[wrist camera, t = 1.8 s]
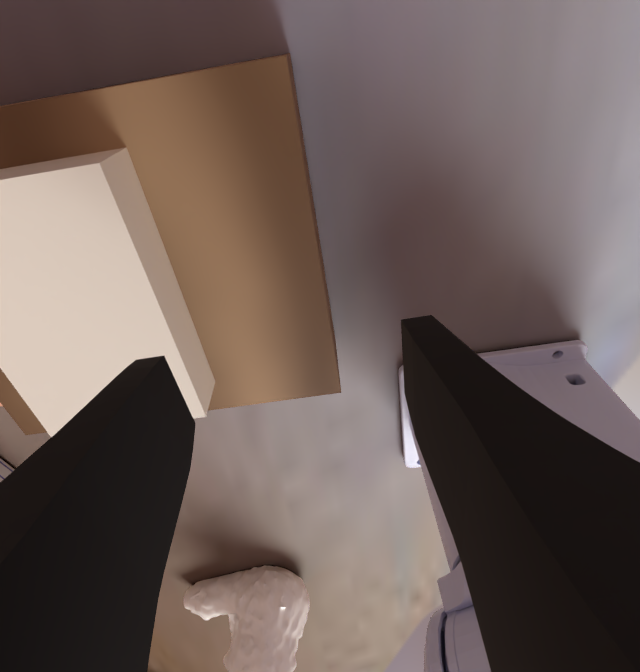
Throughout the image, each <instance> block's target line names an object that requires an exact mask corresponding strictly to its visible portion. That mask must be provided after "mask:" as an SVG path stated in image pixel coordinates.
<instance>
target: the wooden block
mask: <svg viewBox="0 0 640 672" xmlns="http://www.w3.org/2000/svg"><path fill="white" fill-rule="evenodd" d="M126 147H127V150H128V153H129V155H130V158H131V161H132V163H133V166H134V168H135V171H136V174H137V176H138V179H139V182H140V184H141V187H142V190H143V192H144V195H145V197H146V200H147V203H148V205H149V208H150V211H151V213H152V216H153V219H154V221H155V224H156V227H157V229H158V232H159V234H160V237H161V240H162V242H163V245H164V248H165V250H166V253H167V256H168V258H169V261H170V263H171V266H172V269H173V271H174V274H175V277H176V279H177V282H178V285H179V287H180V290H181V292H182V295H183V298H184V300H185V303H186V306H187V308H188V311H189V314H190V316H191V319H192V321H193V324H194V327H195V329H196V332H197V335H198V337H199V340H200V343H201V345H202V348H203V350H204V353H205V356H206V358H207V361H208V364H209V366H210V369H211V372H212V374H213V377H214V379H215V385H214V389H213V392H212V396H211V400H210V404H209V408H208V410H215V409H222V408H230V407H237V406H244V405H252V404H259V403H267V402H274V401H281V400H289V399H296V398H304V397H311V396H318V395H326V394H333V393H341V387H340V378H339V369H338V360H337V350H336V341H335V334H334V328H333V322H332V315H331V309H330V303H329V296H328V290H327V284H326V278H325V271H324V265H323V259H322V252H321V246H320V240H319V233H318V227H317V221H316V215H315V208H314V202H313V196H312V189H311V183H310V177H309V170H308V164H307V158H306V152H305V145H304V139H303V133H302V126H301V120H300V114H299V107H298V101H297V95H296V88H295V82H294V76H293V70H292V63H291V57H290V53H289V54H283V55H278V56H272V57H267V58H261V59H256V60H250V61H245V62H239V63H234V64H228V65H223V66H217V67H212V68H206V69H201V70H195V71H190V72H184V73H179V74H173V75H168V76H162V77H157V78H151V79H146V80H140V81H135V82H129V83H124V84H118V85H113V86H107V87H102V88H96V89H91V90H85V91H80V92H74V93H69V94H63V95H58V96H52V97H47V98H41V99H36V100H30V101H25V102H19V103H14V104H8V105H3V106H0V169H4V168H10V167H16V166H22V165H27V164H33V163H39V162H45V161H50V160H56V159H62V158H68V157H74V156H79V155H85V154H91V153H97V152H102V151H108V150H114V149H120V148H126ZM0 403H1V404H2V405H3V407H4V408H5V409H6V410H7V412H8V413H9V414H10V416H11V417H12V418H13V419H14V421H15V422H16V423H17V424H18V426H19V427H20V428H21V430H22V431H23V432H24V433H25V435H30V434H37V433H45V432H47V431H46V430H45V428H44V427H43V425H42V424H41V423H40V421H39V420H38V419H37V417H36V416H35V415H34V413H33V412H32V410H31V409H30V408H29V406H28V405H27V404H26V402H25V401H24V400H23V398H22V397H21V396H20V394H19V393H18V391H17V390H16V389H15V387H14V386H13V385H12V383H11V382H10V381H9V379H8V378H7V377H6V375H5V374H4V372H3V371H2V370H1V368H0Z"/></svg>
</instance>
